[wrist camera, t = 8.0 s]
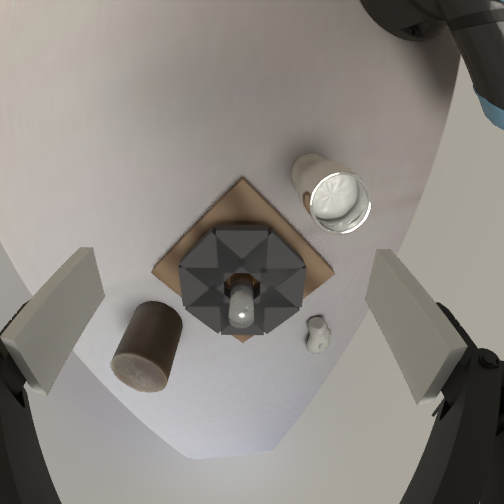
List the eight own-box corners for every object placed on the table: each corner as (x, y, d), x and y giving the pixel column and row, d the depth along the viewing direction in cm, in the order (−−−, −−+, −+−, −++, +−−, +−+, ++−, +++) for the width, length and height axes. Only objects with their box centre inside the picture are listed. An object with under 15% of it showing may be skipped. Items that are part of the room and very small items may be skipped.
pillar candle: (181, 304, 51) (162, 365, 38) (183, 343, 55) (168, 403, 42) (131, 297, 51) (101, 353, 37) (137, 336, 55) (114, 392, 42)
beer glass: (333, 196, 43) (369, 236, 29) (287, 196, 43) (306, 237, 29) (335, 150, 40) (376, 171, 26) (287, 149, 40) (308, 168, 26)
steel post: (242, 258, 45) (241, 301, 35) (259, 274, 46) (262, 318, 36) (225, 273, 46) (219, 318, 36) (242, 288, 47) (241, 334, 38)
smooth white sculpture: (323, 339, 57) (301, 346, 56) (327, 309, 54) (303, 316, 52) (333, 353, 54) (310, 361, 52) (339, 322, 50) (314, 331, 49)
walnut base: (242, 176, 41) (242, 179, 40) (332, 267, 48) (335, 273, 46) (154, 266, 48) (151, 272, 46) (243, 335, 55) (242, 342, 53)
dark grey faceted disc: (242, 198, 39) (241, 203, 37) (325, 281, 44) (328, 288, 43) (159, 279, 44) (156, 286, 42) (242, 342, 50) (242, 350, 48)
